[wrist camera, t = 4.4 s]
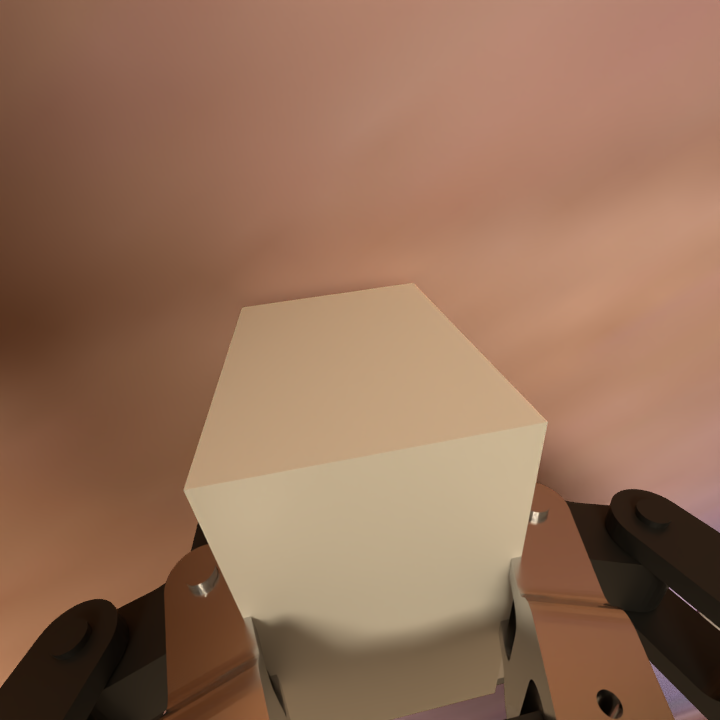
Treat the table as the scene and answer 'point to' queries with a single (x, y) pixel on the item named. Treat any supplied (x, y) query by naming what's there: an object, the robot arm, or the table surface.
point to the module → (367, 500)
